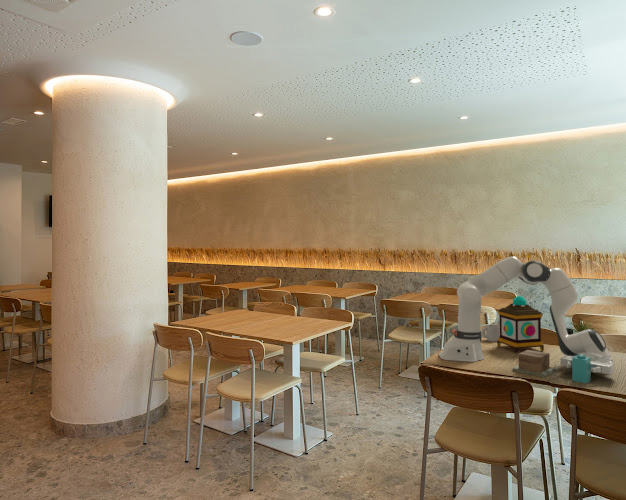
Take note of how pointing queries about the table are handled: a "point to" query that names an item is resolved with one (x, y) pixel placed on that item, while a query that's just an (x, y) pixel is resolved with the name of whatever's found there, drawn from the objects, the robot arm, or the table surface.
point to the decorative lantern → (520, 325)
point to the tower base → (534, 363)
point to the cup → (491, 333)
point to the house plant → (582, 327)
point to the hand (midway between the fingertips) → (580, 368)
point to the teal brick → (581, 369)
